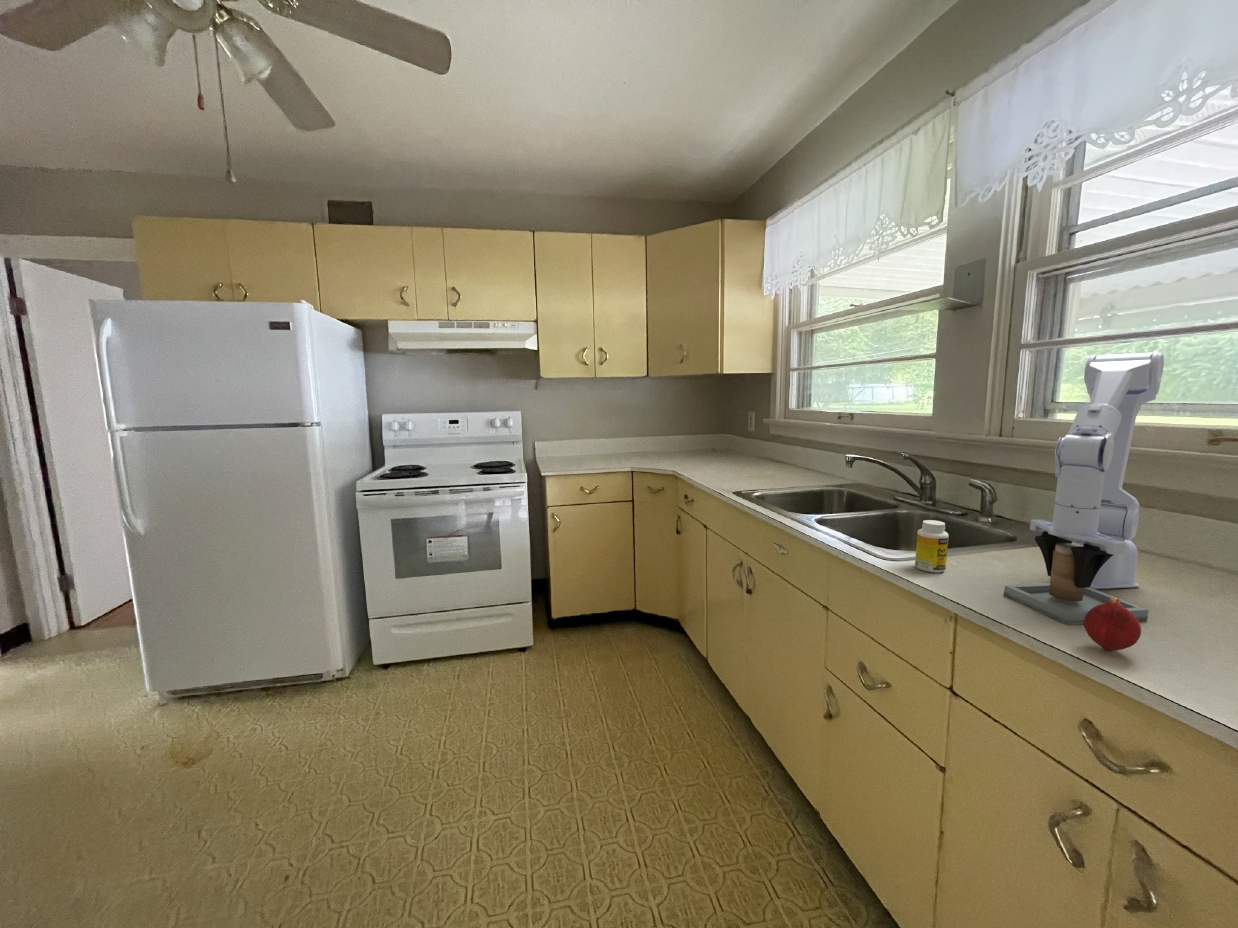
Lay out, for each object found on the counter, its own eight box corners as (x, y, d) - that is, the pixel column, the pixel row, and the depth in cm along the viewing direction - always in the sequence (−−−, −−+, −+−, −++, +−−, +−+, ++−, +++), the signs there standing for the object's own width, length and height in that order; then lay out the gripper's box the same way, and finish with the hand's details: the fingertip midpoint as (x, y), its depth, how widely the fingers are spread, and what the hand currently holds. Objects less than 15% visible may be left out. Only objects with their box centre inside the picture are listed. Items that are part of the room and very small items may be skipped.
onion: (1144, 665, 67) (1152, 610, 66) (1086, 654, 70) (1093, 601, 69) (1129, 647, 72) (1136, 595, 71) (1076, 637, 75) (1082, 587, 74)
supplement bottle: (938, 575, 100) (942, 527, 99) (909, 568, 105) (913, 521, 104) (950, 570, 104) (954, 522, 102) (922, 562, 108) (926, 517, 107)
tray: (1074, 591, 92) (1075, 581, 92) (1147, 620, 80) (1148, 609, 80) (1003, 594, 91) (1004, 585, 91) (1067, 624, 79) (1068, 613, 79)
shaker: (1065, 590, 88) (1070, 542, 87) (1090, 600, 84) (1096, 550, 83) (1042, 591, 88) (1047, 543, 87) (1065, 602, 84) (1071, 551, 83)
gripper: (1017, 497, 91) (1010, 567, 93) (1099, 516, 76) (1089, 599, 78) (1053, 496, 91) (1045, 566, 93) (1141, 514, 77) (1130, 597, 79)
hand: (1068, 581), depth 86 cm, fingers closed on shaker, 4 cm apart
